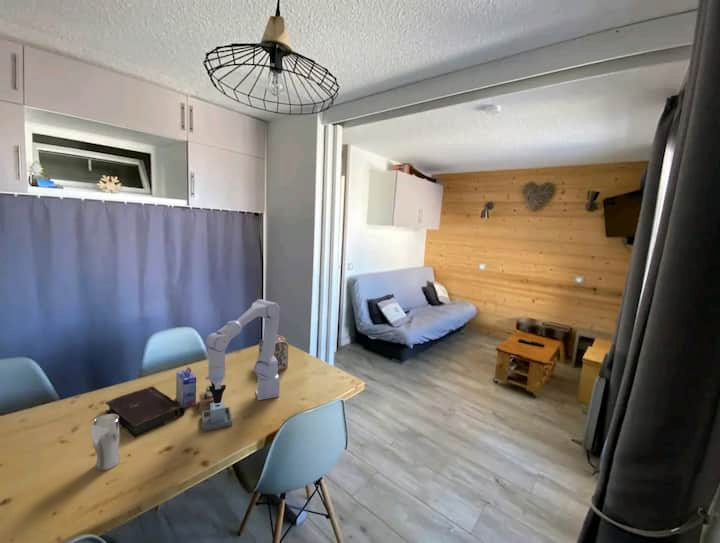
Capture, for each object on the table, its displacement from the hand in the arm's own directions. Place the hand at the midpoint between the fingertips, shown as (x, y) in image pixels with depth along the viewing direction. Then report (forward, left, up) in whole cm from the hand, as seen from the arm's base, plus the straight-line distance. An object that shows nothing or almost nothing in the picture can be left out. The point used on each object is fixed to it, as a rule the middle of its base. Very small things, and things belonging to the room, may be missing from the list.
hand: (216, 397), depth 124 cm
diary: (+25, -15, -11) cm, 31 cm away
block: (0, 0, -9) cm, 9 cm away
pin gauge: (+2, -13, -10) cm, 16 cm away
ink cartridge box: (+11, -19, -10) cm, 24 cm away
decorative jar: (-30, -40, -10) cm, 51 cm away
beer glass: (+32, +11, -10) cm, 35 cm away
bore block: (+2, -13, -10) cm, 16 cm away
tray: (0, 0, -10) cm, 10 cm away
